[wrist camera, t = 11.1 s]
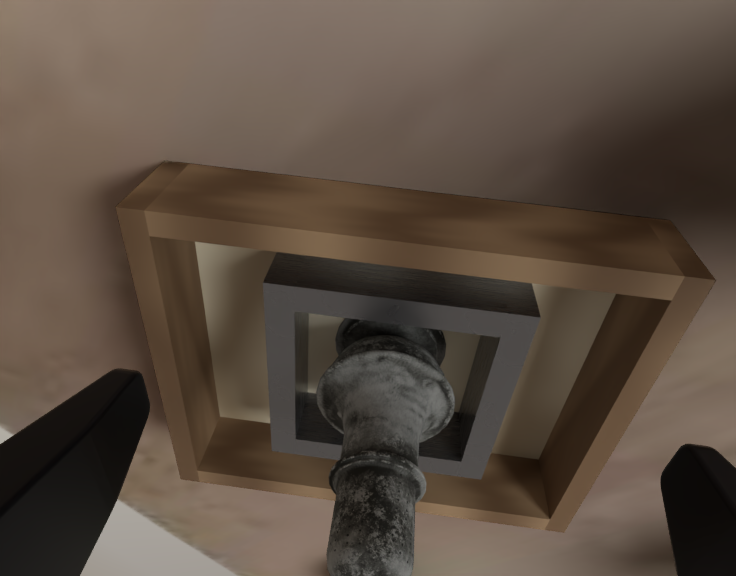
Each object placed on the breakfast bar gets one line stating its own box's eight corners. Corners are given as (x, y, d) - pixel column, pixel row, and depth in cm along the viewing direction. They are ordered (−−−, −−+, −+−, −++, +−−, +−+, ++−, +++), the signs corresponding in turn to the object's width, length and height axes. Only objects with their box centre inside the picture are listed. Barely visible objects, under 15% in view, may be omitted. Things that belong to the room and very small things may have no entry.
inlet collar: (528, 271, 21) (540, 317, 19) (476, 429, 28) (481, 479, 25) (281, 241, 22) (262, 282, 19) (285, 404, 28) (271, 451, 25)
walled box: (670, 220, 20) (716, 280, 17) (549, 464, 29) (563, 532, 26) (165, 160, 21) (115, 207, 17) (207, 418, 30) (180, 479, 27)
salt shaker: (475, 325, 23) (506, 617, 14) (419, 402, 27) (412, 679, 17) (355, 278, 22) (297, 555, 13) (313, 364, 26) (243, 634, 16)
